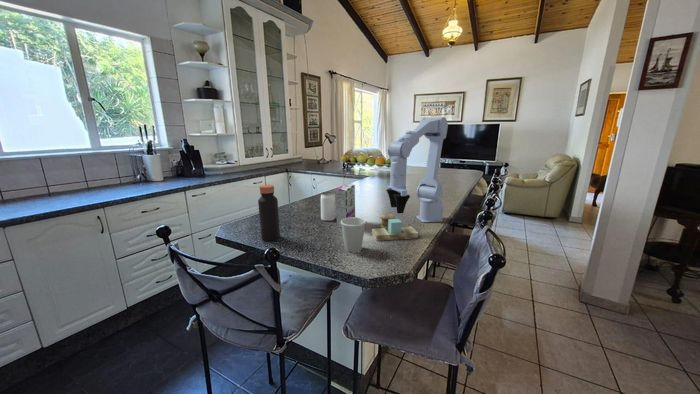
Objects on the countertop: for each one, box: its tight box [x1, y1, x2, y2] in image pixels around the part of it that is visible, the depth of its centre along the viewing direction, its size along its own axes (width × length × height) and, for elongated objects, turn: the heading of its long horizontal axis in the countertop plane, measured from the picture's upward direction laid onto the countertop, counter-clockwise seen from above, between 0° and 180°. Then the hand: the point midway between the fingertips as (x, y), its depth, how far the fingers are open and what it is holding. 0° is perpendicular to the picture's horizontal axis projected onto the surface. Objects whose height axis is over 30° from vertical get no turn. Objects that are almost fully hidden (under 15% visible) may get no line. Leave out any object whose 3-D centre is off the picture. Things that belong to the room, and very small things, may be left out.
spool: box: [379, 213, 396, 231], centre depth 113 cm, size 6×6×5 cm
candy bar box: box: [335, 183, 356, 229], centre depth 116 cm, size 11×5×16 cm, turn 161°
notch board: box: [371, 226, 419, 241], centre depth 105 cm, size 16×7×2 cm, turn 99°
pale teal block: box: [387, 218, 403, 234], centre depth 104 cm, size 4×4×6 cm
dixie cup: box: [341, 216, 367, 253], centre depth 92 cm, size 8×8×10 cm
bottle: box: [257, 184, 281, 242], centre depth 100 cm, size 7×7×20 cm
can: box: [320, 191, 336, 222], centre depth 123 cm, size 6×6×12 cm
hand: (396, 210), depth 104 cm, fingers open, 7 cm apart
